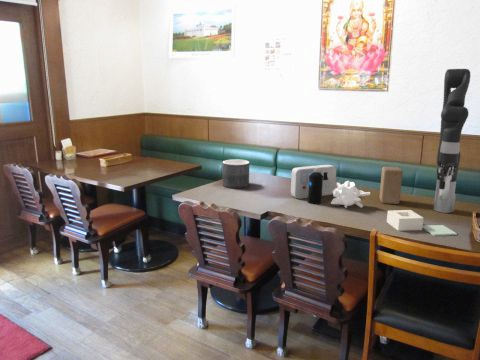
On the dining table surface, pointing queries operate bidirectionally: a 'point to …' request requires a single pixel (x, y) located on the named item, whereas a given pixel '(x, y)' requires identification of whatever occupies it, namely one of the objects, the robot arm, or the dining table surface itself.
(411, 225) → the socket
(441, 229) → the mat
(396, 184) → the wooden block
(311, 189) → the black tall cylinder
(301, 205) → the dining table surface
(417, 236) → the dining table surface
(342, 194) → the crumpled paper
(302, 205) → the dining table surface
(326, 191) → the rounded white slab
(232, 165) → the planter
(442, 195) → the key peg
